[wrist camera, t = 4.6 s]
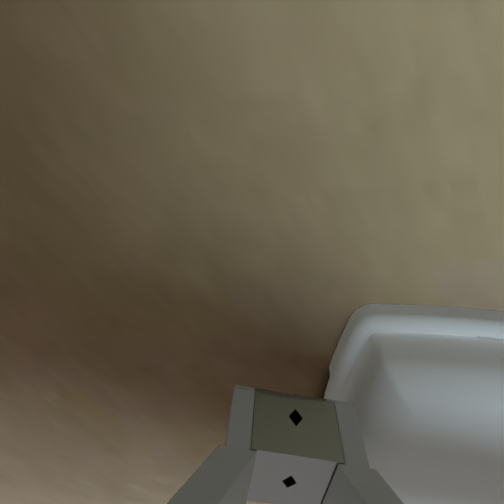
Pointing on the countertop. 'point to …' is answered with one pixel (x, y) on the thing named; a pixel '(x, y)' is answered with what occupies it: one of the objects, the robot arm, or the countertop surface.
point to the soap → (427, 398)
